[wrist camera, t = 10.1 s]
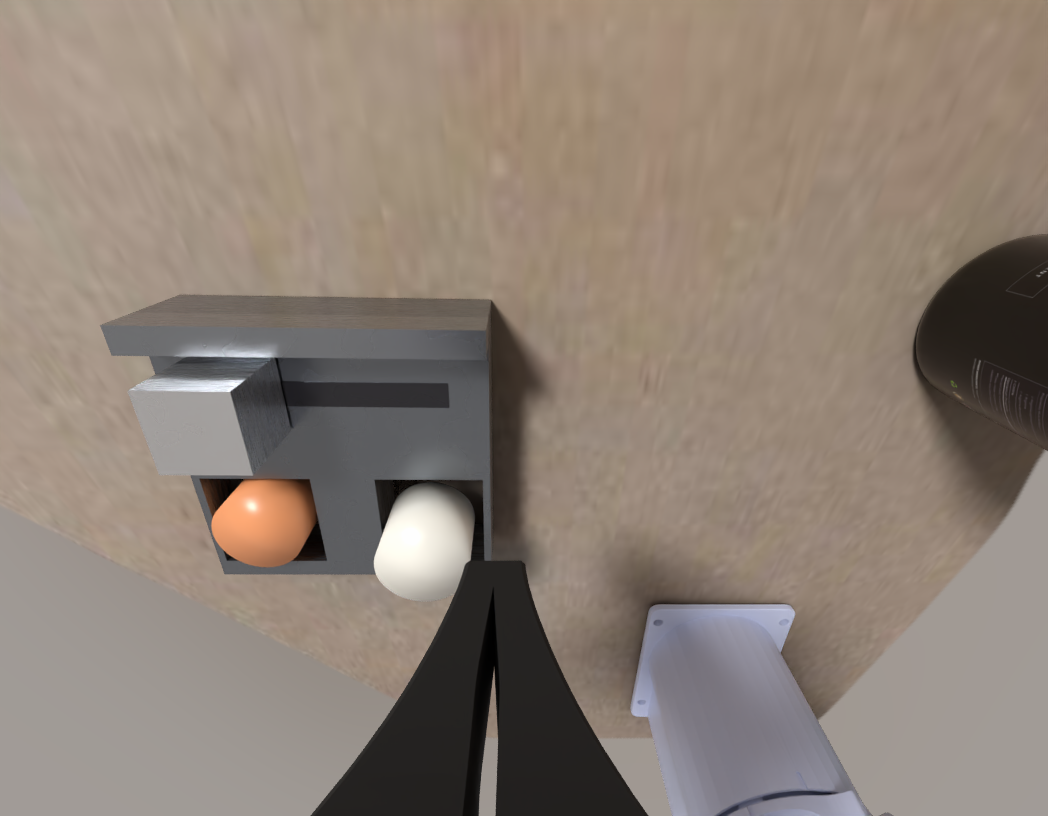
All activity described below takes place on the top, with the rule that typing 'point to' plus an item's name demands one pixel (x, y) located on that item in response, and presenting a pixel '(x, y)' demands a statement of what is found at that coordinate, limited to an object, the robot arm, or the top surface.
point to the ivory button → (426, 542)
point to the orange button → (266, 521)
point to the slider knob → (212, 415)
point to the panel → (344, 404)
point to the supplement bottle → (993, 337)
